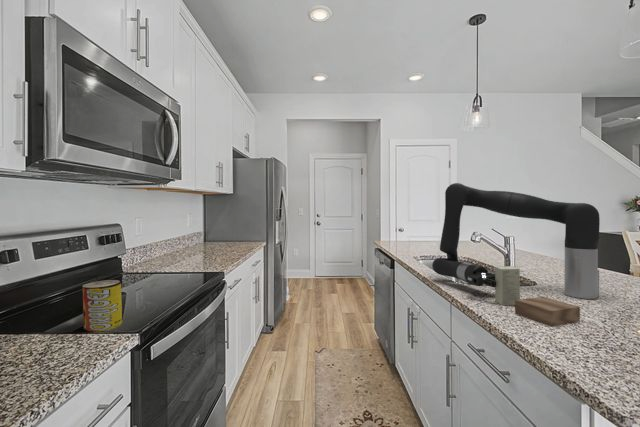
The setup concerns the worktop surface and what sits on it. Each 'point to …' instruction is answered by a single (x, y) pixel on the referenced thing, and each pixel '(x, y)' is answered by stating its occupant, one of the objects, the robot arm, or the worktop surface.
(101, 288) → the beverage can
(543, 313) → the walnut block
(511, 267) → the skincare box
